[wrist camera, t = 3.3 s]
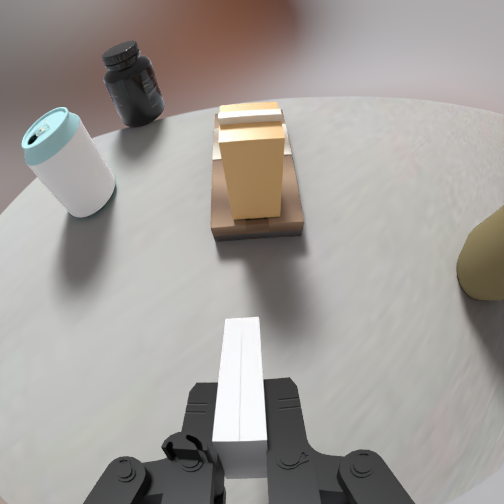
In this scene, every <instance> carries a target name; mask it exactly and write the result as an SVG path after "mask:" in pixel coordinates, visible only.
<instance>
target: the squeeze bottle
mask: <svg viewBox="0 0 504 504" xmlns="http://www.w3.org/2000/svg"><path fill="white" fill-rule="evenodd" d="M457 275H458V278H459V282H460V285H461V286H462V288H463V289H464V291H465V292H466V294H468V295H469V296H470V297H471V298H473V299H476V300H503V299H504V205H503V206H502V207H501V208H500V209H499V210H497V211H496V212H495V213H493V214H492V215H491V216H490V217H488V218H487V219H486V220H484V221H483V222H482V223H480V224H479V225H478V226H476V227H475V228H474V229H473V230H472V231H471V232H470V233H469V235H468V238H467V240H466V242H465V244H464V247H463V249H462V251H461V253H460V255H459V258H458V261H457Z"/></svg>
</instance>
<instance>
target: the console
mask: <svg viewBox="0 0 504 504" xmlns="http://www.w3.org/2000/svg"><path fill="white" fill-rule="evenodd" d="M281 114H282V118H281V122H282V127H283V132H284V137H285V144H284V162H283V179H282V195H281V210H280V217H265V218H263V219H256V220H250V219H236V220H233V216H232V211H231V206H230V200H229V195H228V190H227V185H226V179H225V174H224V169H223V164H222V158H221V153H220V147H219V121H218V114H215V126H214V141H213V166H212V193H211V231H212V233H213V236H214V239H215V241H226V240H240V239H254V238H269V237H284V236H300V235H301V232H302V228H303V223H304V220H303V214H302V208H301V202H300V196H299V191H298V185H297V180H296V175H295V169H294V164H293V159H292V153H291V148H290V143H289V139H288V134H287V129H286V125H285V121H284V116H283V112H282V110H281Z"/></svg>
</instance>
